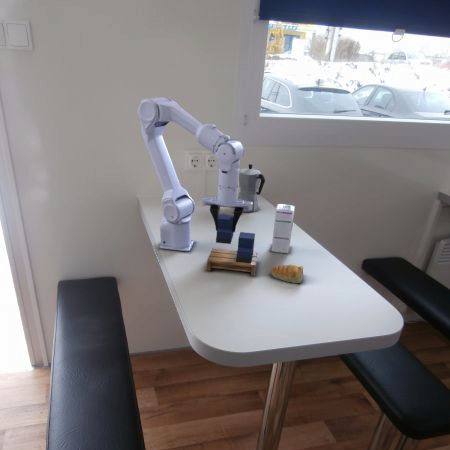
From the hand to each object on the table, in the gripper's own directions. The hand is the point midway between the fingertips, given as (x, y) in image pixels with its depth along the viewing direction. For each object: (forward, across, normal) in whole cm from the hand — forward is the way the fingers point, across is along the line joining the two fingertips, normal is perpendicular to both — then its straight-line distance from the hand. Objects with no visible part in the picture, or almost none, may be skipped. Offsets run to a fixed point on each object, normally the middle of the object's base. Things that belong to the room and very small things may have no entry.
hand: (225, 230), depth 122 cm
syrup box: (+9, -17, -11) cm, 23 cm away
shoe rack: (+9, -3, +5) cm, 11 cm away
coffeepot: (+9, -4, -49) cm, 50 cm away
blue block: (+2, 0, +1) cm, 3 cm away
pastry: (+9, -20, +9) cm, 24 cm away
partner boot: (+6, -7, +6) cm, 10 cm away
